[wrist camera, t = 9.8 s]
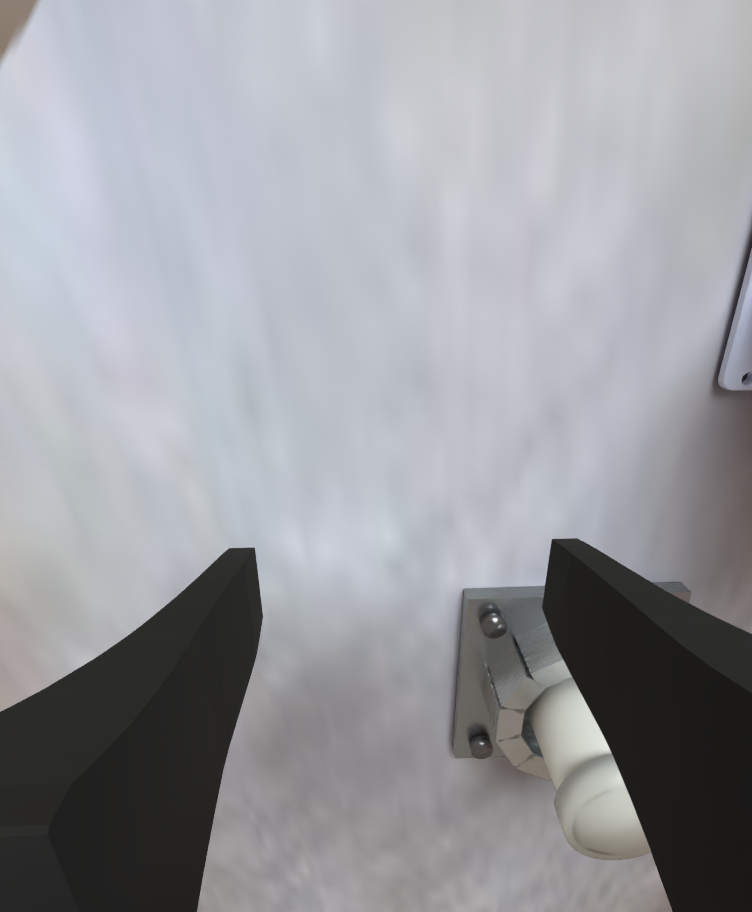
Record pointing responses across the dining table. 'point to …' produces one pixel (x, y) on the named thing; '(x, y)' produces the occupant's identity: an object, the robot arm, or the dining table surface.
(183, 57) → the dining table surface
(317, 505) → the dining table surface
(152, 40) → the dining table surface
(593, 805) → the white knob
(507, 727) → the flange
